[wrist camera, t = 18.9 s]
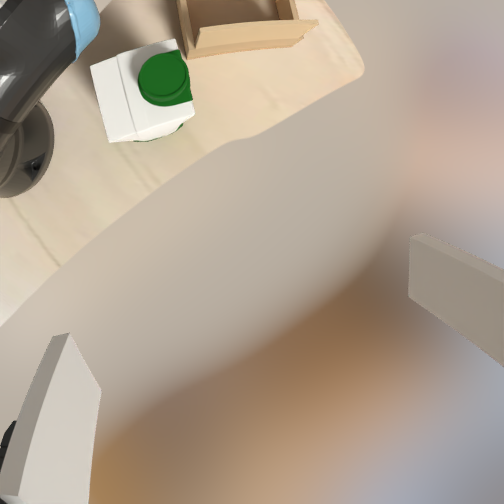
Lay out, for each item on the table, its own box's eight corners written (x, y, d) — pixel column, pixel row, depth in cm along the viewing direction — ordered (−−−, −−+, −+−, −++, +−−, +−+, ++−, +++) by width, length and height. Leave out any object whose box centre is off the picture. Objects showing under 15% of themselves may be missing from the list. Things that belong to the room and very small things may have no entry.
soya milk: (190, 130, 42) (206, 117, 24) (128, 150, 41) (97, 153, 23) (175, 72, 39) (180, 22, 21) (113, 92, 38) (74, 56, 19)
